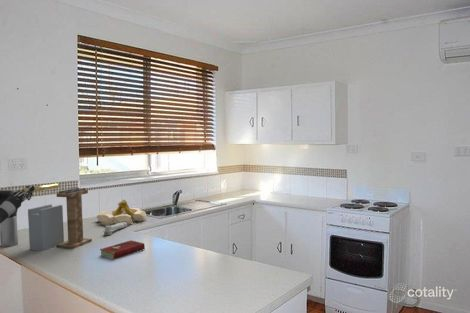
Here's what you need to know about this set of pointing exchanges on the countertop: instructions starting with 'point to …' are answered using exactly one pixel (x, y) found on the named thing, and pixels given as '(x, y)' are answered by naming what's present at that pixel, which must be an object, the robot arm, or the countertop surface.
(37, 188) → the brass rod
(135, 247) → the hardcover book
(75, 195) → the walnut stand
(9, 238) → the robot arm
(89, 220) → the countertop surface
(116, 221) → the campfire
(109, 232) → the toothbrush head
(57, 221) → the grey cradle
